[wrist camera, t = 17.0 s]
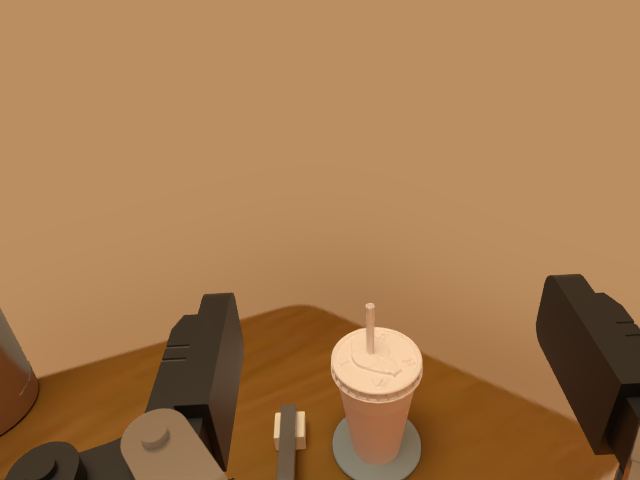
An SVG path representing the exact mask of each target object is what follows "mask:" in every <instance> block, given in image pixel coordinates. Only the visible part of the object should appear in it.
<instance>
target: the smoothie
mask: <svg viewBox="0 0 640 480" xmlns="http://www.w3.org/2000/svg"><path fill="white" fill-rule="evenodd" d="M422 369H423V366H422V356H421V353H420V351H419V349H418V347H417V346H416V344H415V343H414V342H413V341H412V340H411V339H410V338H408V337H407V336H405V335H404V334H402V333H400V332H397V331H395V330H392V329H387V328H380V327H374V304H372V303H368V304H366V328H363V329H359V330H356V331H353V332H351V333H349V334H347V335H346V336H344V337H343V338H342V339H341V340H340V341H339V342H338V343H337V344H336V346H335V347H334V349H333V352H332V356H331V373H332V377H333V379H334V381H335V383H336V385H337V386H338V387H339V390H340V394H341V398H342V402H343V406H344V410H345V414H346V419H347V423H348V427H349V431H350V435H351V440H352V444H353V448H354V451H355V453H356V455H357V456H358V457H359V458H360V459H361V460H362V461H364V462H365V463H368V464H371V465H384V464H387V463H389V462H391V461H392V460H394V459H395V458H396V456H397V455H398V453H399V449H400V445H401V441H402V437H403V433H404V429H405V425H406V421H407V416H408V412H409V408H410V404H411V400H412V396H413V392H414V389H415V388H416V387H417V386H418V385H419V383H420V380H421V378H422Z"/></svg>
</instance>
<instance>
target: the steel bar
mask: <svg viewBox="0 0 640 480" xmlns="http://www.w3.org/2000/svg"><path fill="white" fill-rule="evenodd" d="M296 442H297V408H296V404H290V405H281V417H280V434H279V450H278V467H277V480H295V477H296Z"/></svg>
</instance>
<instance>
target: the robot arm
mask: <svg viewBox="0 0 640 480" xmlns="http://www.w3.org/2000/svg"><path fill="white" fill-rule="evenodd" d="M536 332H537V338H538V341H539V344H540V346H541V348H542V350H543V352H544V354H545V356H546V358H547V360H548V362H549V364H550V366H551V368H552V370H553V372H554V374H555V376H556V378H557V380H558V382H559V384H560V386H561V388H562V390H563V392H564V394H565V396H566V398H567V400H568V402H569V404H570V406H571V408H572V410H573V412H574V414H575V416H576V418H577V420H578V422H579V424H580V426H581V428H582V430H583V432H584V434H585V436H586V438H587V440H588V442H589V444H590V446H591V448H592V450H593V451H594V453H595V455H606V454H615V456H616V458H617V460H618V462H619V463H620V464H619V466H618V469H617V471H616V474H615V478H614V480H640V329H639V327H638V326H637V325H636V324H634V321H633V319H632V318H631V317H630V315H629V314H628V313H627V311H626V310H625V309H624V307H623V306H622V305H621V304H619V303H618V302H616V301H615V300H613V299H612V298H611V297H609V296H608V295H606V294H605V293H595V292H594V291H593V289H592V288H591V287H590V285H589V284H588V282H587V281H586V279H584V277H583V276H582V275H581V274H570V275H569V274H568V275H550V276H548V277H547V278H546V280H545V284H544V288H543V293H542V297H541V302H540V306H539V311H538V316H537V321H536ZM242 363H243V337H242V331H241V326H240V321H239V316H238V311H237V306H236V301H235V296H234V294H233V293H218V294H205V295H204V296H203V298H202V301H201V305H200V309H199V312H198V314H196V315H184V316H183V317H182V318H181V319H180V321H179V322H178V323H177V324H176V325H175V326H174V328H173V329H172V330H171V333H170V336H169V339H168V343H167V349H165V352H164V355H163V358H162V362H161V364H160V367H159V371H158V374H157V377H156V380H155V383H154V386H153V389H152V392H151V395H150V399H149V402H148V405H147V408H146V411H145V413H144V414H143V415H141V416H139V417H138V418H136V419H135V420H134V421H133V422H132V423H131V424H130V425H129V426H128V427H127V429H126V430H125V432H124V434H123V436H122V437H121V438H119V439H117V440H115V441H112V442H110V443H107V444H104V445H101V446H98V447H95V448H92V449H89V450H86V451H83V452H80V453H78V452H77V450H76V449H75V448H74V446H72V445H71V444H69V443H66V442H50V443H46V444H42V445H40V446H38V447H35V448H34V449H32V450H30V451H29V452H27V453H26V454H24V455H23V456H22V457H21V458H20V459H19V460H18V461H17V462H16V463H15V464H14V465H13V466H12V468H11V469H10V470H9V472H8V474H7V476H6V478H5V480H229V479H228V478H227V477H226V475H225V474H224V472H226V471H227V464H228V458H229V451H230V444H231V437H232V430H233V424H234V417H235V410H236V403H237V397H238V390H239V383H240V376H241V369H242ZM38 385H39V384H38V381H37V378H36V376H35V374H34V372H33V370H32V367H31V365H30V363H29V361H27V359H26V357H25V355H24V353H23V351H22V350H21V347H20V345H19V343H18V341H17V339H16V338H15V335H14V333H13V332H12V330H11V328H10V326H9V324H8V322H7V320H6V318H5V316H4V314H3V313H2V310H1V309H0V435H1V434H3V433H4V432H5V431H7V430H8V429H10V428H11V427H13V426H14V425H15V424H16V423H17V422H18V421H19V420H21V419H22V418H23V417H24V415H25V414H26V413H27V412H28V411H29V409H30V408H31V406H32V405H33V403H34V401H35V400H36V397H37V394H38ZM230 480H235V479H233V478H232V479H230Z"/></svg>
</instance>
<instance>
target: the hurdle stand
mask: <svg viewBox="0 0 640 480" xmlns="http://www.w3.org/2000/svg"><path fill="white" fill-rule="evenodd" d="M280 417H281V413H276V414H275V429H274V442H275V448H276V451H278V450H279V434H280ZM298 449H306V419H305V411H304V412H297V442H296V450H298Z"/></svg>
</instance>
